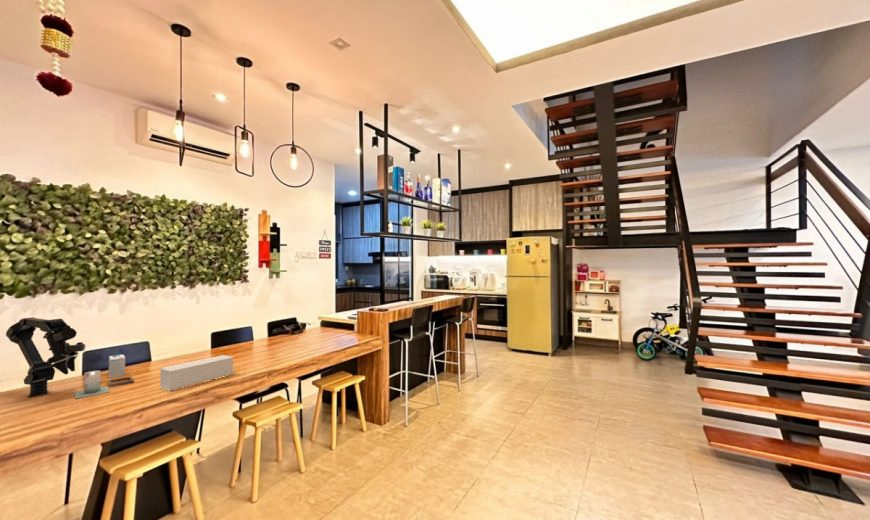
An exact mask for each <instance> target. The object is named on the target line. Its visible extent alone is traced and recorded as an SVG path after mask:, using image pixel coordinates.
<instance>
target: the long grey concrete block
mask: <svg viewBox="0 0 870 520" xmlns="http://www.w3.org/2000/svg"><path fill="white" fill-rule="evenodd" d="M231 374H233V375H234V356H230V355H227V354H226V355H225V354H221V355H216V356H212V357H207V358H202V359H198V360H194V361H188V362H183V363H178V364H174V365H170V366H164V367H160V376H159V377H160V384H159V385H160V387H161V388H163V389H162V390H164V389H166V390H168V391H167V392H169V391H171V390H174V391H176V390H175V389H178V390H180V389H179V388H182V387H186V386H190V385H193V384H197V383H200V382H203V381H207V380H211V379H215V378H219V377H222V376H227V375H231ZM231 376H232V375H231ZM197 385H198V384H197ZM193 386H194V385H193ZM190 387H191V386H190ZM161 388H160V389H161ZM186 388H187V387H186ZM182 389H183V388H182ZM166 390H165V391H166ZM171 392H172V391H171Z"/></svg>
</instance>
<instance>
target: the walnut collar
mask: <svg viewBox="0 0 870 520" xmlns="http://www.w3.org/2000/svg"><path fill="white" fill-rule="evenodd" d="M134 383H135V379H134V378H133V376H124V377H120V378H114V379H110V380H107V386H108V388H109V387H110V388H114V387H119V386H125V385H131V384H134Z"/></svg>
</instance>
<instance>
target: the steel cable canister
mask: <svg viewBox="0 0 870 520" xmlns="http://www.w3.org/2000/svg"><path fill="white" fill-rule="evenodd" d="M101 373H102V371H101V370H89V371H87V372H84V374H83V391H84V394H92V393H96V392H99V391H100V388H101V382H102V381H101V378H102V374H101Z"/></svg>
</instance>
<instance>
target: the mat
mask: <svg viewBox="0 0 870 520" xmlns="http://www.w3.org/2000/svg"><path fill="white" fill-rule="evenodd" d="M108 392H109V393H110V388H109V386H108V385H107V386H102V387H101V386H100V391H99V392H96V393H92V394H84V390H81V391H75V392H74V397H75V400H78V399H77V398H79V399H83V398H82V397H84V398H89V397H93V395H94V396H99V395H103V394H102V393H104V394H108ZM98 394H99V395H98ZM88 396H89V397H88Z"/></svg>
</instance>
